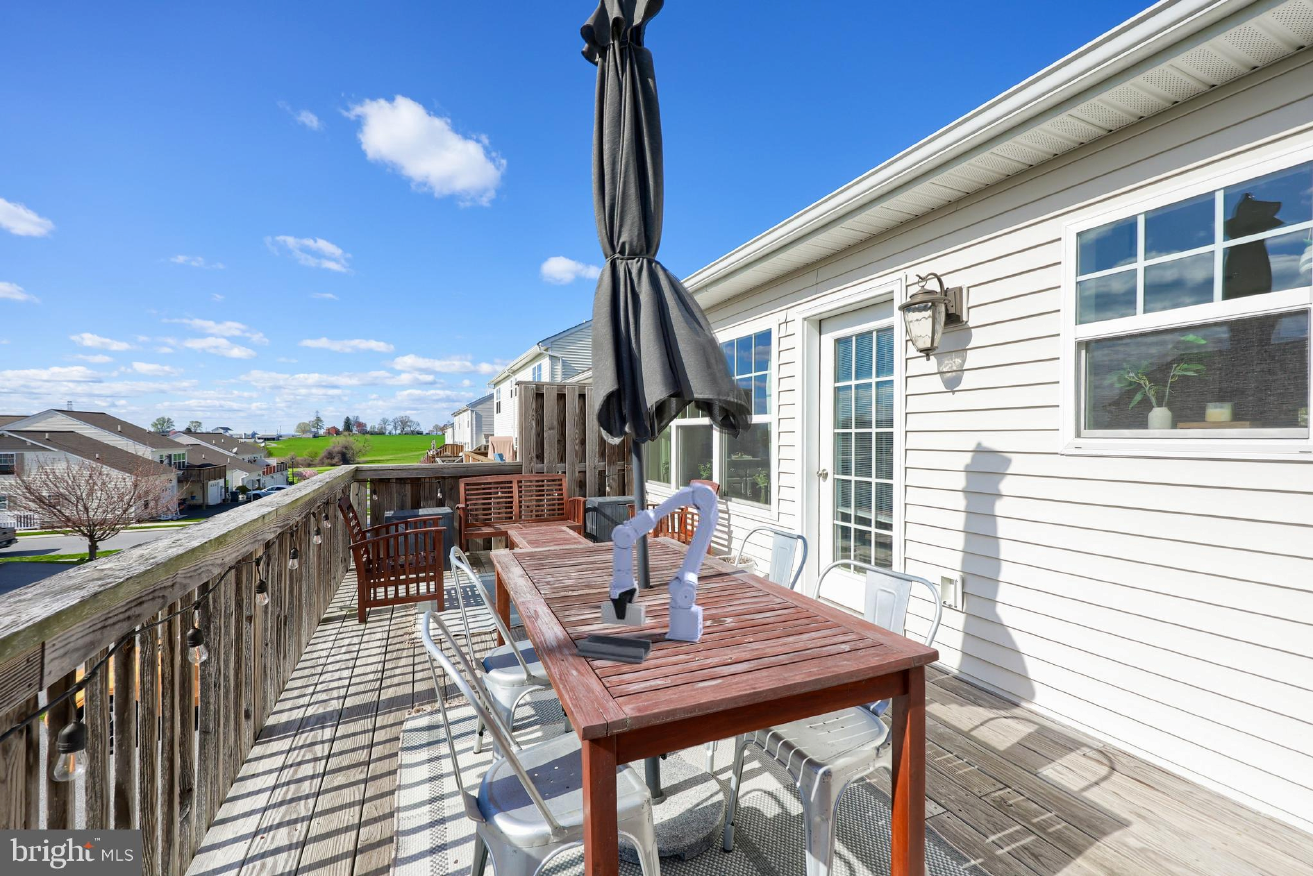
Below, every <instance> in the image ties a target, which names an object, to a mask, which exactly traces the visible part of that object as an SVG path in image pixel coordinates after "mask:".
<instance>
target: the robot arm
mask: <svg viewBox="0 0 1313 876" xmlns="http://www.w3.org/2000/svg"><path fill="white" fill-rule="evenodd" d="M681 507H694V508H695V510H696V512H697V514H698V516H699V519H698V520H699V521H698V523H697V525H696V528H695V529H694V530H695V531H694V533H693V536H692V539H691V541H690V544H689V547H688V548H687V552H686V554H685V556H684V559H683V562H682V564H681V567H680V568H679V569H678V570H677V571H676V573H675V576H674V577H673V578H672V579H671V580H670V581H669V583H668V585H667V592H668V595H669V596H670V597H671V598H670V600H669V602H668V603H669V604H668V607H669V609H668V611H669V613H668V615H669V616H668V617H669V618H668V619H669V620H668V624H669V625H668V630H669V631H668V632H667V633H666V634H665V636H664V639H668V640H676V641H677V640H678V641H685V642H686V641H687V642H695V643H698V642H699V639H701V636H703V633H704V630H703V625H704V624H703V623H704V622H703V619H704V618H703V617H704V616H703V615H704V614H703V607H702V606H700V605H697V604H696V603H695V602H696V600H697V588H698V585H699V583H698V575H699V573H700V570H701V567H702V564H703V562H704V560H705V557H706V554H707V552H708V549H709V547H710V544H711V542H712V539H713V536H714V534H715V531H716V528H717V525H718V522H719V519H720V512H719V506H718V496H717V493H716V492H715V490H714V489H713V488H712V486H710V485H706V484H702V483H701V482H692V483H690V484H689V485H688V486H685V487H683V488H681V489H680V490H679V491H677V492H676V493H674V494H673V495H672V496H670V497H669V498H668V499H666V500H665V501H663V502H662V503H661V504H658V506H656V507H654V508H653V509H652V510H649V509H644V510H642V509H640V510H639V511H637V512H636V513H637V514H636V515H634V516H633V517H632V518H630V519H628V520H623V522H622V523H623V524H619V525H616V527H614V528H613V530H612V531H611V535H610V537H611V540H612V542H613V546H612V549H613V552H612V581H611V582H610V583H608V587H610V586H611V587H612V590H611V591H610V594H608V595H609V596H608V597H609V600H610V602H612V604H613V606H614V609H615V613H616V617H617V619H620V620H624V619H625V615H626V607H627V603H631V604H632V601H633V598H634V595H635V593H636V591H637V589H636V588H633V587H634V584H635V582H636V579H635V577H634V552H633V551H634V549H633V546H634V544H635V541H636V540H637V539H640V538H641V537H643V536H644V535H646V534H647V533H649V532H650V531H651V530H653V529H655V528H656V527H657V525H658V522H659V521H660V520H661V519H662V518H664V517H666V516H667V515H670V514H671V513H672V512H674V511H676V510H677V509H679V508H681Z"/></svg>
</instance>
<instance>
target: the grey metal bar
mask: <svg viewBox="0 0 1313 876" xmlns="http://www.w3.org/2000/svg"><path fill="white" fill-rule="evenodd" d="M600 623H603V624H612V625H620V626H630V627H640V628H641V627H643V626H644V625H645V624H646V604H642V603H633V604H631V603H627V607H626V615H625V619H624V620H620V619H617V617H616V613H615V609H614V606H613V604H612V601H609V600H608V601H607V600H606V601H604V602H603V603H602V604H600Z"/></svg>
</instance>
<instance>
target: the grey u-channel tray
mask: <svg viewBox="0 0 1313 876" xmlns="http://www.w3.org/2000/svg"><path fill="white" fill-rule="evenodd" d="M652 651H653V646H652V640H651V639H642V638H635V637H626V636H618V635H610V634H609V635H608V634H599V633H592V632H591V633H590V632H588V633H587V641H578V642H577V650H576V656H579V657H585V658H586V657H587V658H595V659H602V660H610V661H616V662H617V661H618V662H624V663H633V664H634V663H635V664H641V665H643V663H644V661H645V660H647V659H646V658H647V657H648V656H649V655H650V654H651V652H652Z"/></svg>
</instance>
